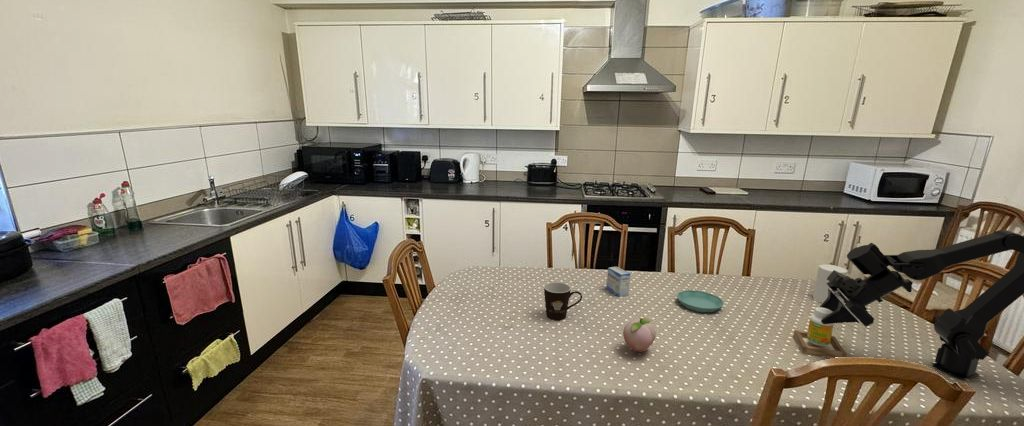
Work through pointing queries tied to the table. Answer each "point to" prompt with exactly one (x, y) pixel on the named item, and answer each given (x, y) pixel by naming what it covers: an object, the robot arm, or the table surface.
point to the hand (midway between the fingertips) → (819, 318)
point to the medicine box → (618, 281)
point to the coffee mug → (558, 300)
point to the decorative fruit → (639, 334)
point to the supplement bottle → (820, 328)
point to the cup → (825, 280)
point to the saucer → (700, 301)
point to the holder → (817, 350)
